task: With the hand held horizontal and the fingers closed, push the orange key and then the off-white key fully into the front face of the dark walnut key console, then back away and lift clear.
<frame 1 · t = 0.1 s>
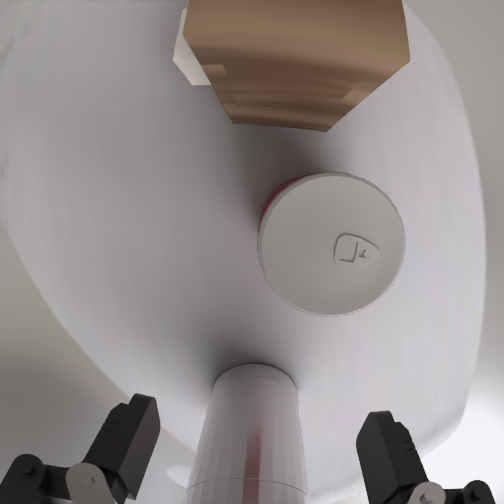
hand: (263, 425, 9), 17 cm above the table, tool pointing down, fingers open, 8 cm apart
key console: (285, 38, 21), on the table
white key: (229, 47, 14), point 9 cm above the table, slide at 0.0 cm
canned food: (306, 221, 25), on the table
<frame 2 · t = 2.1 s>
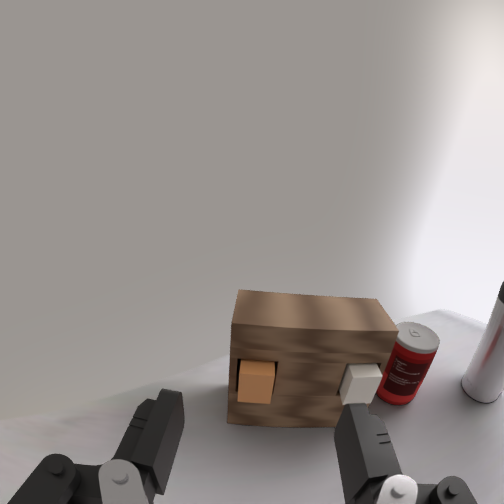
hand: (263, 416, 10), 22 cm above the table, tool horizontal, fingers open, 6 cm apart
key console: (294, 406, 37), on the table
white key: (357, 377, 31), point 9 cm above the table, slide at 0.0 cm
orange key: (256, 374, 31), point 9 cm above the table, slide at 0.0 cm
canned food: (393, 391, 39), on the table
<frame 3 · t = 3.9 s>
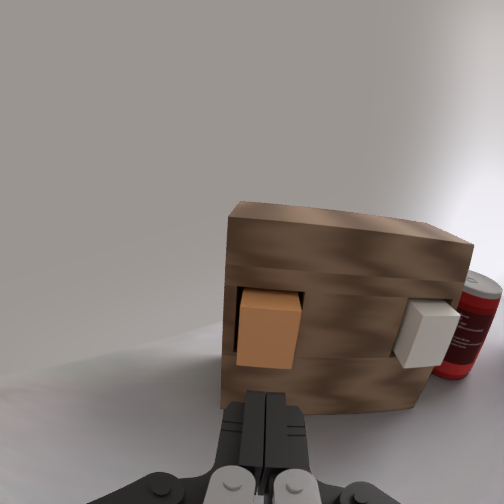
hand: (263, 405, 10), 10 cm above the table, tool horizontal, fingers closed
key console: (319, 385, 26), on the table
white key: (419, 325, 19), point 9 cm above the table, slide at 0.0 cm
orange key: (267, 320, 20), point 9 cm above the table, slide at 0.0 cm
canned food: (443, 363, 28), on the table
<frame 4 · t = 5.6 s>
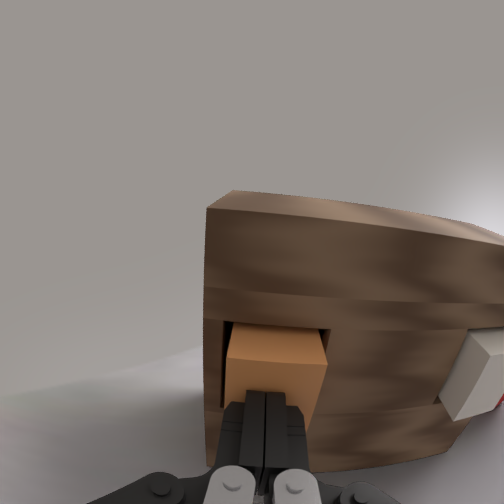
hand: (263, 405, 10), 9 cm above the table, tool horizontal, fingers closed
key console: (335, 430, 18), on the table
white key: (472, 361, 12), point 9 cm above the table, slide at 0.0 cm
orange key: (270, 366, 13), point 9 cm above the table, slide at 0.1 cm, touching gripper
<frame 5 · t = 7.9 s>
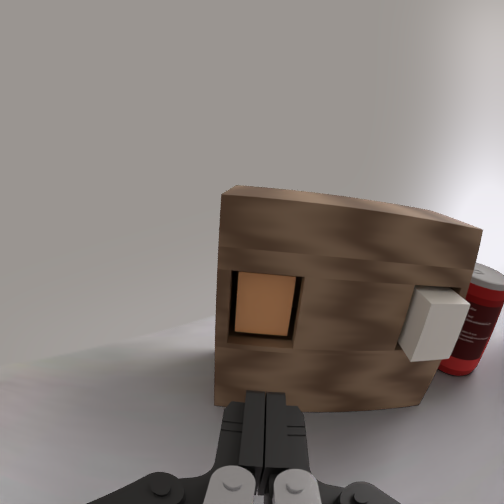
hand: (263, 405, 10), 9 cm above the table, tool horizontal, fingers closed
key console: (320, 381, 24), on the table
white key: (426, 316, 18), point 9 cm above the table, slide at 0.0 cm
orange key: (264, 290, 21), point 9 cm above the table, slide at 3.0 cm
canned food: (449, 359, 27), on the table
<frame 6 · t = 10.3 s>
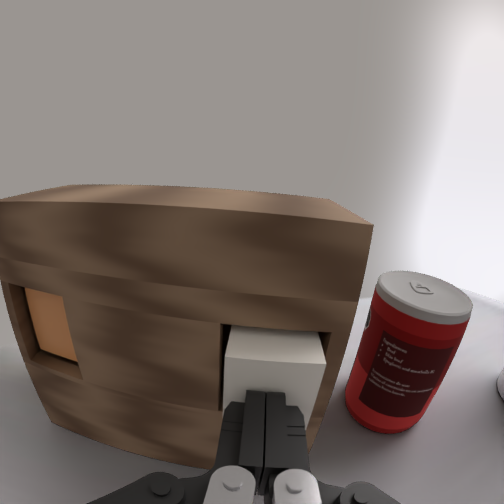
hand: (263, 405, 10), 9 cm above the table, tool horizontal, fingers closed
key console: (174, 419, 18), on the table
white key: (269, 365, 13), point 9 cm above the table, slide at 0.4 cm, touching gripper
orange key: (74, 306, 15), point 9 cm above the table, slide at 3.0 cm
canned food: (382, 405, 21), on the table
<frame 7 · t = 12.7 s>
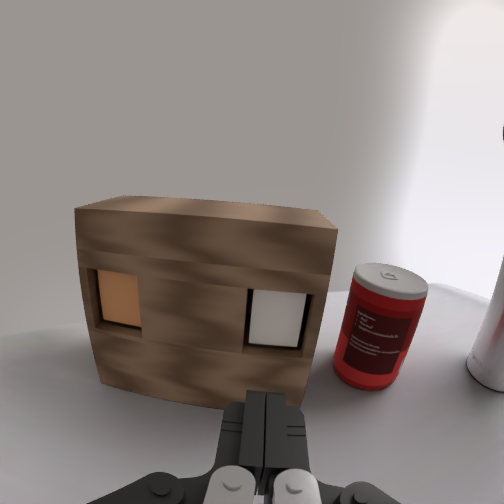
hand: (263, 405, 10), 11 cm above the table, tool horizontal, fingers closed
key console: (201, 376, 26), on the table
white key: (275, 304, 23), point 9 cm above the table, slide at 2.9 cm
orange key: (132, 286, 23), point 9 cm above the table, slide at 3.0 cm
canned food: (364, 370, 28), on the table
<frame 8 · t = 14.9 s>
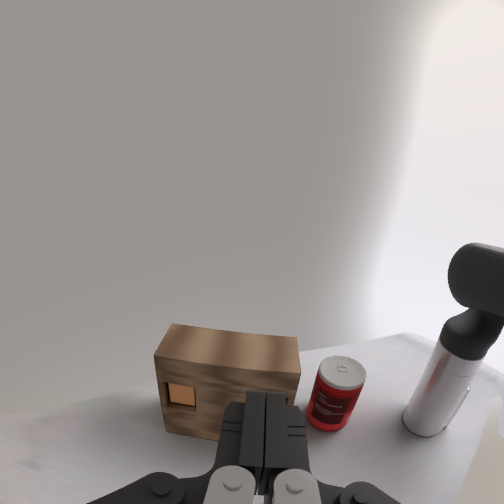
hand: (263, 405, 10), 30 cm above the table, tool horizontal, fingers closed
key console: (226, 423, 41), on the table
orange key: (185, 382, 38), point 9 cm above the table, slide at 3.0 cm
canned food: (326, 417, 44), on the table
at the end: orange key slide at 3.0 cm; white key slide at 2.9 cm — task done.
